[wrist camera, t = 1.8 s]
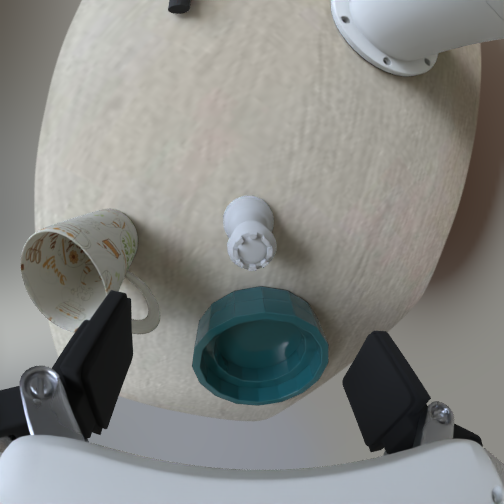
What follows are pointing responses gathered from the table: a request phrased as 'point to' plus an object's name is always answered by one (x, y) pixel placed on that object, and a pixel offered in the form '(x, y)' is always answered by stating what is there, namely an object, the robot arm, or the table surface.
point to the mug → (83, 268)
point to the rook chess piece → (250, 232)
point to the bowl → (259, 347)
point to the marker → (179, 6)
